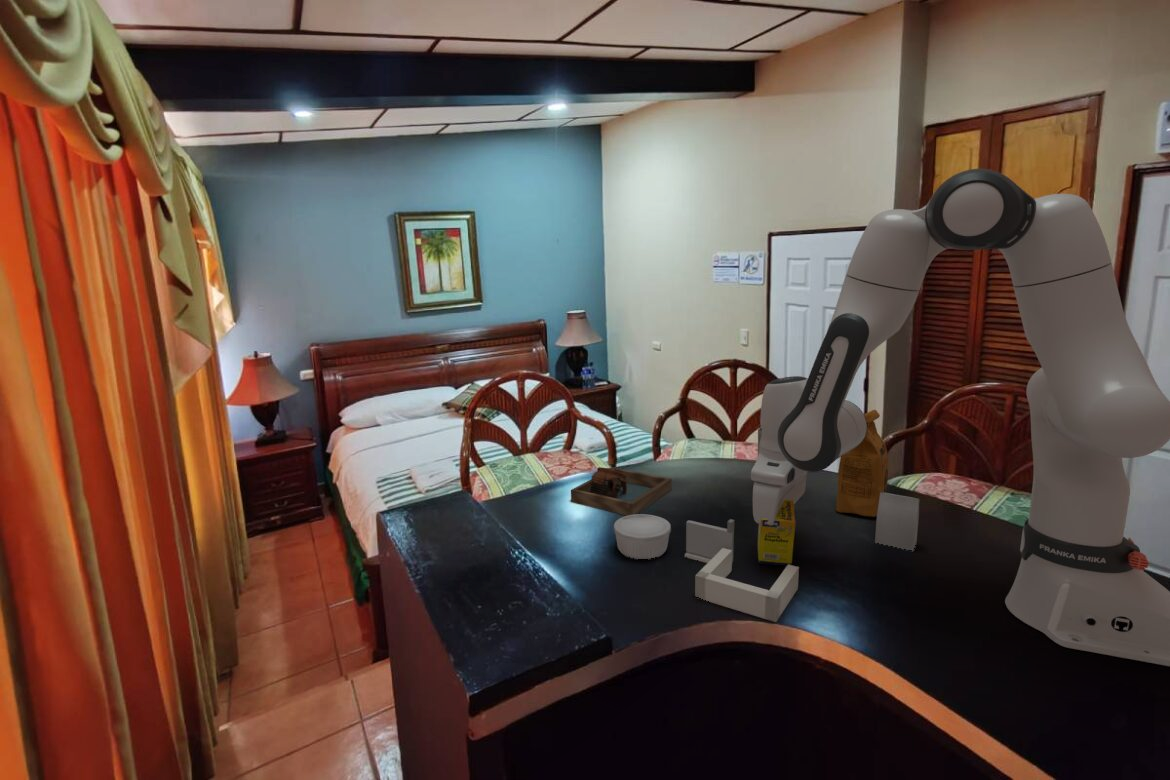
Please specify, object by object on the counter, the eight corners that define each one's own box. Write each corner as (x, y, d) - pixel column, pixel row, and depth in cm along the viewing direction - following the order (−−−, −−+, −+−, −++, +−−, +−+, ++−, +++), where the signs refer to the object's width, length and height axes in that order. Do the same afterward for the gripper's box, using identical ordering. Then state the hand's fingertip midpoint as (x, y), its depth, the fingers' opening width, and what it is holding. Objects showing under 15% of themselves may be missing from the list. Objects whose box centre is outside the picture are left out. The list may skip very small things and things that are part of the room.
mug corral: (671, 490, 150) (671, 478, 149) (632, 516, 134) (632, 504, 134) (613, 478, 159) (613, 467, 159) (571, 501, 144) (570, 490, 143)
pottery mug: (578, 496, 149) (588, 464, 150) (611, 507, 152) (620, 476, 154) (599, 500, 138) (609, 466, 139) (634, 512, 141) (643, 478, 143)
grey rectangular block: (913, 551, 115) (917, 502, 113) (874, 543, 119) (878, 495, 117) (916, 544, 118) (920, 496, 116) (878, 536, 122) (882, 489, 120)
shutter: (733, 560, 112) (734, 519, 110) (730, 563, 110) (731, 522, 109) (688, 548, 117) (689, 509, 115) (685, 551, 116) (685, 512, 114)
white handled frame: (802, 581, 105) (803, 560, 104) (776, 622, 94) (777, 598, 93) (690, 552, 117) (690, 532, 116) (654, 584, 106) (654, 563, 105)
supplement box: (792, 567, 110) (796, 522, 105) (758, 564, 112) (760, 519, 106) (789, 543, 115) (793, 499, 110) (757, 541, 117) (759, 497, 111)
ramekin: (656, 533, 126) (656, 510, 125) (680, 557, 115) (681, 531, 114) (606, 542, 123) (605, 518, 122) (626, 567, 112) (626, 541, 111)
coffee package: (893, 505, 137) (900, 411, 132) (876, 523, 128) (884, 422, 123) (847, 495, 143) (853, 405, 139) (829, 512, 134) (834, 416, 130)
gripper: (784, 445, 123) (781, 508, 126) (747, 474, 107) (744, 546, 110) (815, 449, 120) (812, 515, 122) (782, 480, 103) (779, 555, 106)
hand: (779, 530), depth 116 cm, fingers closed
